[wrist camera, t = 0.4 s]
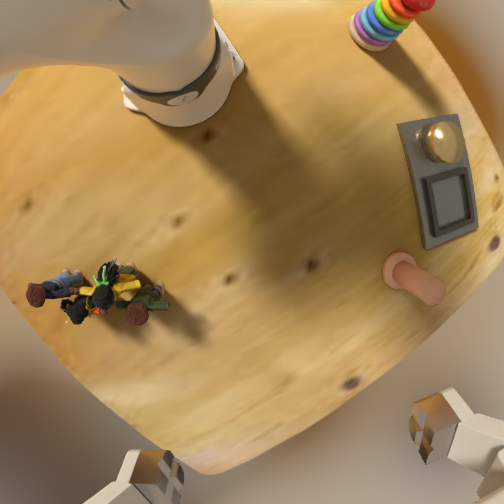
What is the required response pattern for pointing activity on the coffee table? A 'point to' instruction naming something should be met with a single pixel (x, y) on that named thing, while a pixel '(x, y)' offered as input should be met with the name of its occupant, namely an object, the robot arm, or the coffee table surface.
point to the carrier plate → (440, 178)
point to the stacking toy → (384, 21)
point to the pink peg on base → (412, 278)
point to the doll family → (101, 293)
